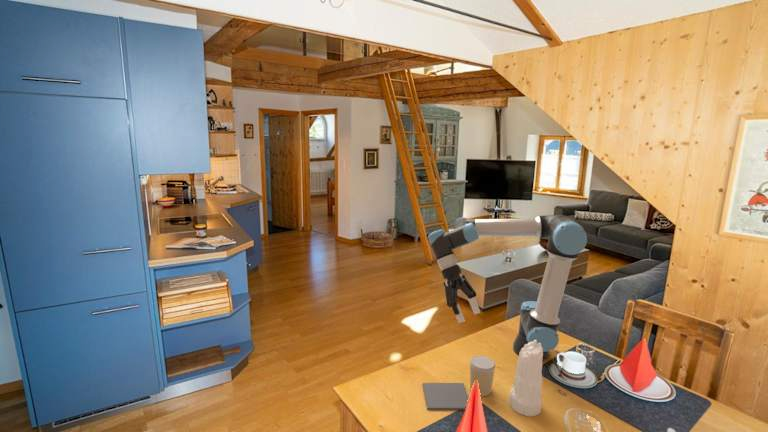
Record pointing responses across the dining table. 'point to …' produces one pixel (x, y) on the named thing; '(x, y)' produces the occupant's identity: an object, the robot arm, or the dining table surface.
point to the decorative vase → (528, 381)
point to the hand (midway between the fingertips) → (470, 317)
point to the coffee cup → (482, 373)
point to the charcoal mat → (445, 396)
